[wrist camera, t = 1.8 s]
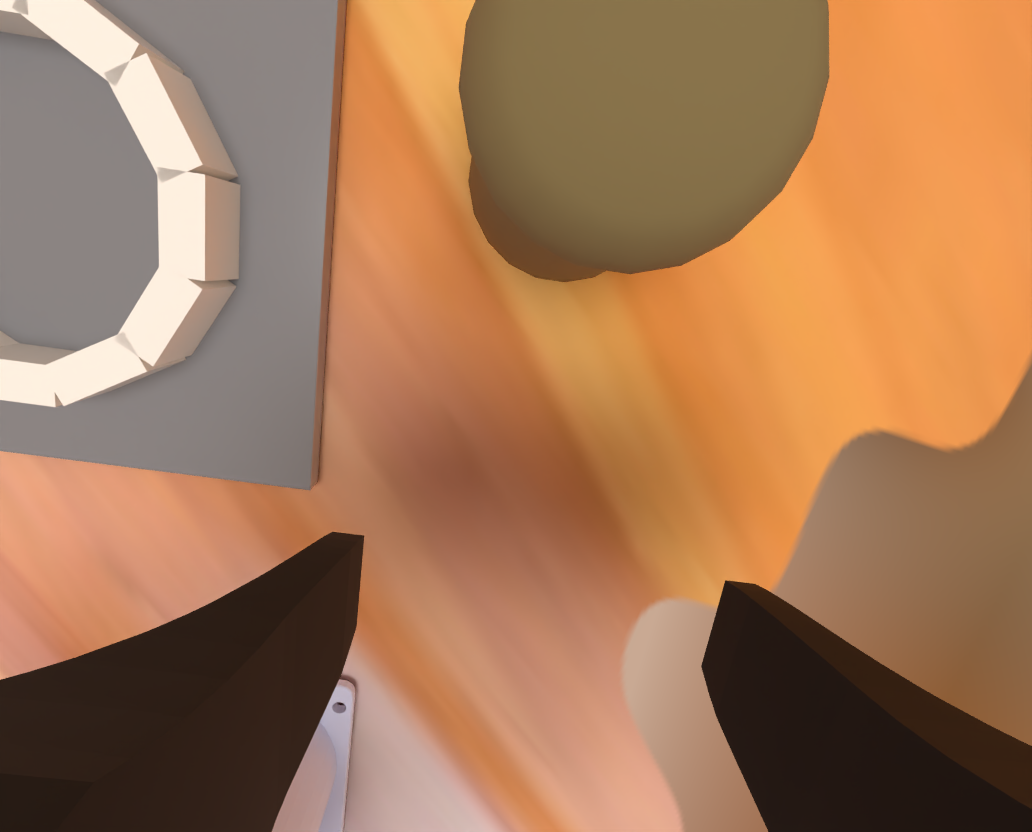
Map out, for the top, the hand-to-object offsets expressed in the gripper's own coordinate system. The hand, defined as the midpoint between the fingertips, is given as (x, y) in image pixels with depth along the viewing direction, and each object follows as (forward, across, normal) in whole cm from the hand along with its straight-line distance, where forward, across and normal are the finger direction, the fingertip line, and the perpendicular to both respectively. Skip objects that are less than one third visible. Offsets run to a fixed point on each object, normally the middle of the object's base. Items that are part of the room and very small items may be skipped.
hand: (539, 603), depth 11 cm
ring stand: (+9, +15, -6) cm, 18 cm away
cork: (+9, 0, -9) cm, 13 cm away
